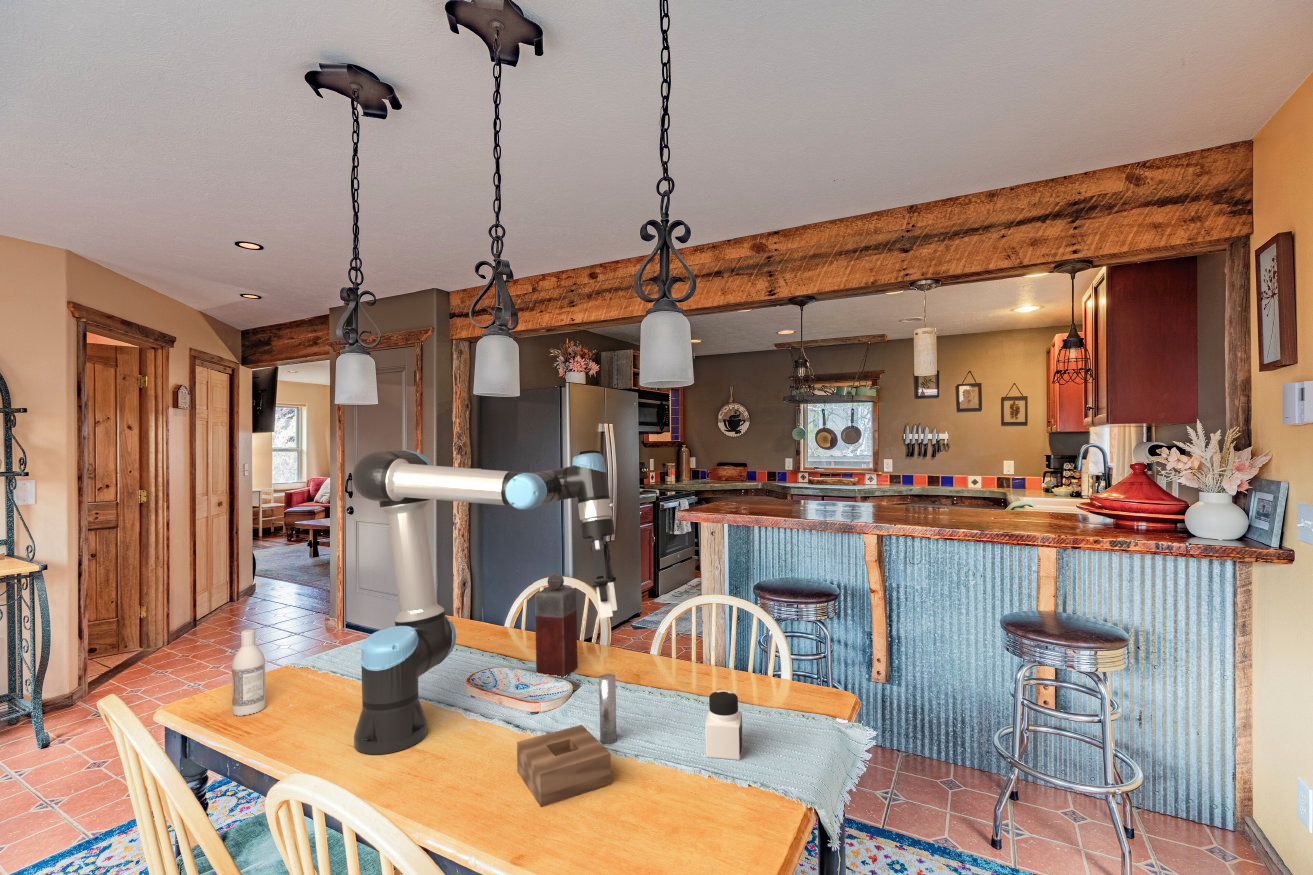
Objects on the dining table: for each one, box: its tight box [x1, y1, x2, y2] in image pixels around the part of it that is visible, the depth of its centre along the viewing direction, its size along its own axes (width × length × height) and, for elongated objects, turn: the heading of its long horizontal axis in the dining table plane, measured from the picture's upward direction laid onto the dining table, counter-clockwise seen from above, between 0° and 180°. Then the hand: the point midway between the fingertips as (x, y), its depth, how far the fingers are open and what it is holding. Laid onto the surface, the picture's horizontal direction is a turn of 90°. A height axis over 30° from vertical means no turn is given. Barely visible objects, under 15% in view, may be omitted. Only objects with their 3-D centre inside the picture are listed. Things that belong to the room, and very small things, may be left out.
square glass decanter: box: [534, 572, 579, 677], centre depth 178 cm, size 9×11×28 cm
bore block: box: [516, 724, 612, 808], centre depth 121 cm, size 14×14×6 cm
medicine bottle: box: [704, 690, 743, 761], centre depth 130 cm, size 7×7×12 cm
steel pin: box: [598, 673, 618, 745], centre depth 135 cm, size 4×4×14 cm
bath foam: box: [231, 628, 267, 717], centre depth 155 cm, size 7×7×20 cm
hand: (609, 613), depth 139 cm, fingers open, 13 cm apart
